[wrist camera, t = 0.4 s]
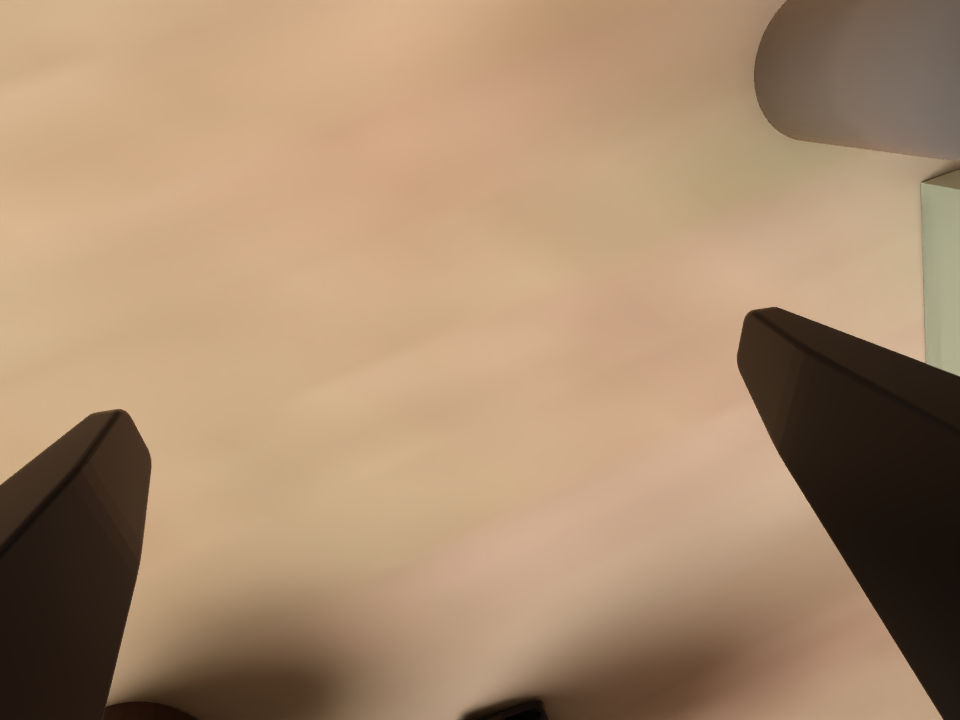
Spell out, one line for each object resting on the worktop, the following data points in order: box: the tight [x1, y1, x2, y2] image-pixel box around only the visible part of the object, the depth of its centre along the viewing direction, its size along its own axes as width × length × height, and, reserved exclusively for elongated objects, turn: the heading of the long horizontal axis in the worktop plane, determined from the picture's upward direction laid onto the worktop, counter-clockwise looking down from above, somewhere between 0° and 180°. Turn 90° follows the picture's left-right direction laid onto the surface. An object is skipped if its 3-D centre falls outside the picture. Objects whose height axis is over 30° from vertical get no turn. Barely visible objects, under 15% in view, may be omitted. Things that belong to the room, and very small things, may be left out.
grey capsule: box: [754, 0, 960, 162], centre depth 17 cm, size 5×5×11 cm
